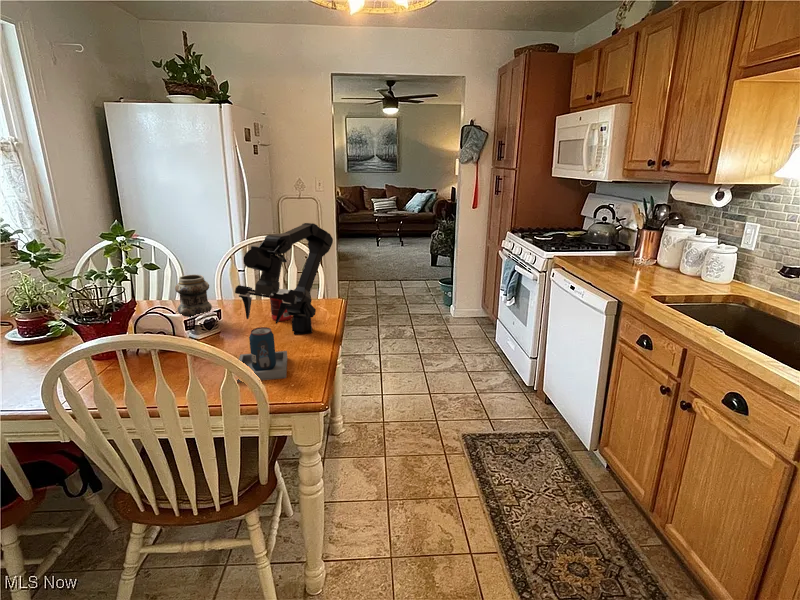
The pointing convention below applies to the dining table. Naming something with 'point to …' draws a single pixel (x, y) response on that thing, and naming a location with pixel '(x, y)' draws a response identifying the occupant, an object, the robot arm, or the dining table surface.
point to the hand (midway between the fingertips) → (261, 321)
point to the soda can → (262, 349)
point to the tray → (275, 373)
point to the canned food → (276, 305)
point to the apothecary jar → (192, 295)
